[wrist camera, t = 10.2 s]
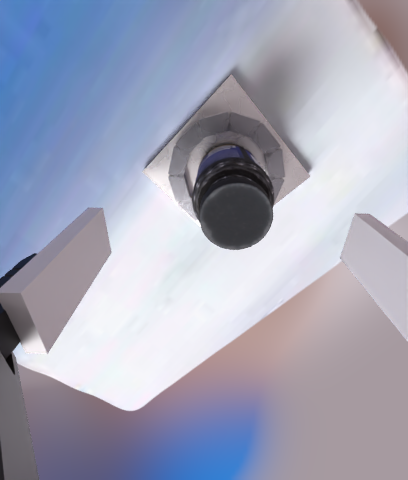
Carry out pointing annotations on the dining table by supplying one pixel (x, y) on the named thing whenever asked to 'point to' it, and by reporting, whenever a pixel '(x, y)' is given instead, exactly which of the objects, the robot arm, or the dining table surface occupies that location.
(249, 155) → the pill bottle
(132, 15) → the dining table surface
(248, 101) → the hub plate
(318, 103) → the dining table surface
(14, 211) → the dining table surface
